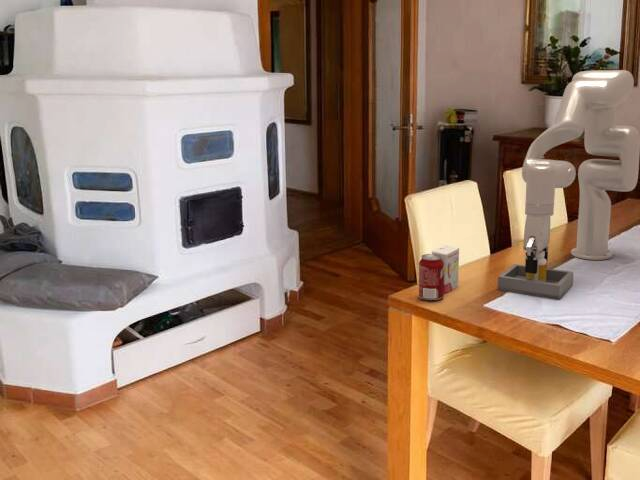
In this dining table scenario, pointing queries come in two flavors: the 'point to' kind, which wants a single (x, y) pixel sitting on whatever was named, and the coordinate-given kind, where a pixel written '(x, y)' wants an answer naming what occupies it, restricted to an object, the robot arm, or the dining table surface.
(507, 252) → the dining table surface
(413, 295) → the dining table surface
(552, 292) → the tray
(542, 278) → the pill bottle
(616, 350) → the dining table surface
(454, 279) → the ink box
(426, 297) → the soda can
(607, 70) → the robot arm
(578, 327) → the dining table surface
